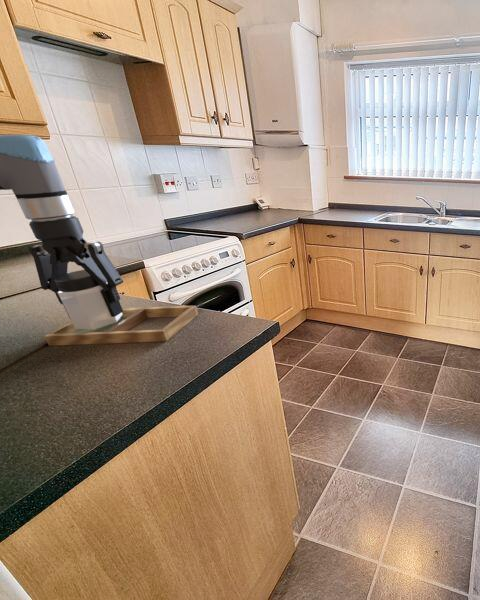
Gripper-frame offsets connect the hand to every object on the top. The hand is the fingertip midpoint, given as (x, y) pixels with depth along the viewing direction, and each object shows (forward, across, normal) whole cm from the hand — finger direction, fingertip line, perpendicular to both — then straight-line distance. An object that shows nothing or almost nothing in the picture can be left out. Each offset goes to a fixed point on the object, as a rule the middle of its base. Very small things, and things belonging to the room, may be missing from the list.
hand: (97, 314), depth 79 cm
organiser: (+4, -6, 0) cm, 7 cm away
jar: (+2, 0, 0) cm, 2 cm away
